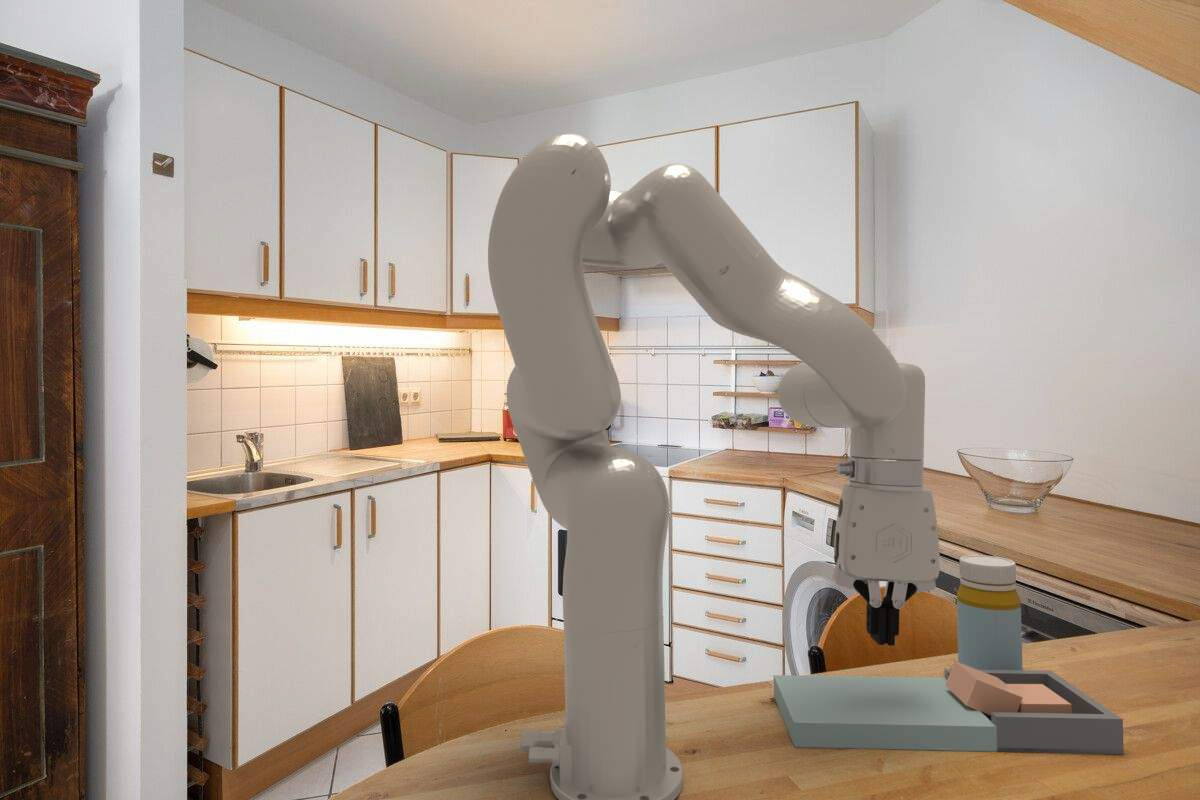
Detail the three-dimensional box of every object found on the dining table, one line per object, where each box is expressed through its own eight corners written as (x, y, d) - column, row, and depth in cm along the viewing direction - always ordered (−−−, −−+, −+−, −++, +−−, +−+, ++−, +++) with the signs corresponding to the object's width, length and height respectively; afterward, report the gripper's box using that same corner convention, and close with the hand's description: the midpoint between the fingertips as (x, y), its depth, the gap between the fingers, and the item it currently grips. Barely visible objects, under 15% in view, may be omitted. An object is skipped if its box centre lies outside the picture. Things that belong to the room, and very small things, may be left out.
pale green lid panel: (794, 746, 68) (793, 722, 68) (773, 695, 80) (773, 675, 80) (997, 751, 66) (996, 726, 66) (945, 698, 78) (944, 677, 78)
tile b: (1022, 732, 69) (1021, 703, 69) (997, 710, 74) (996, 683, 74) (1072, 733, 69) (1071, 704, 69) (1043, 710, 74) (1042, 684, 74)
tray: (997, 751, 66) (996, 716, 66) (945, 698, 78) (944, 669, 78) (1123, 754, 65) (1122, 719, 65) (1051, 700, 77) (1050, 670, 77)
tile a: (966, 705, 70) (976, 679, 70) (945, 685, 75) (954, 661, 75) (1012, 723, 70) (1022, 697, 70) (987, 702, 75) (997, 677, 75)
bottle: (1004, 668, 87) (1002, 554, 87) (1034, 691, 80) (1031, 567, 80) (949, 667, 88) (946, 554, 88) (973, 690, 81) (970, 567, 81)
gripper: (825, 474, 70) (821, 648, 70) (972, 480, 69) (968, 658, 68) (809, 469, 78) (805, 626, 77) (941, 474, 76) (938, 634, 76)
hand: (882, 640), depth 73 cm, fingers closed
